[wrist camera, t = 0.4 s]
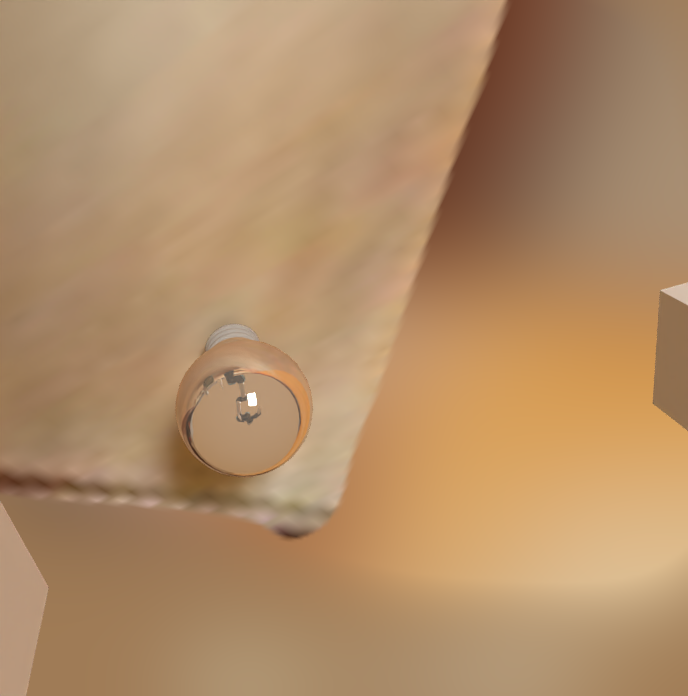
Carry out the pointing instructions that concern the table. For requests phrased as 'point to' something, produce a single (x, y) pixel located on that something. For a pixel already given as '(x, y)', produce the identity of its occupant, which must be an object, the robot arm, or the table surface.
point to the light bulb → (243, 404)
